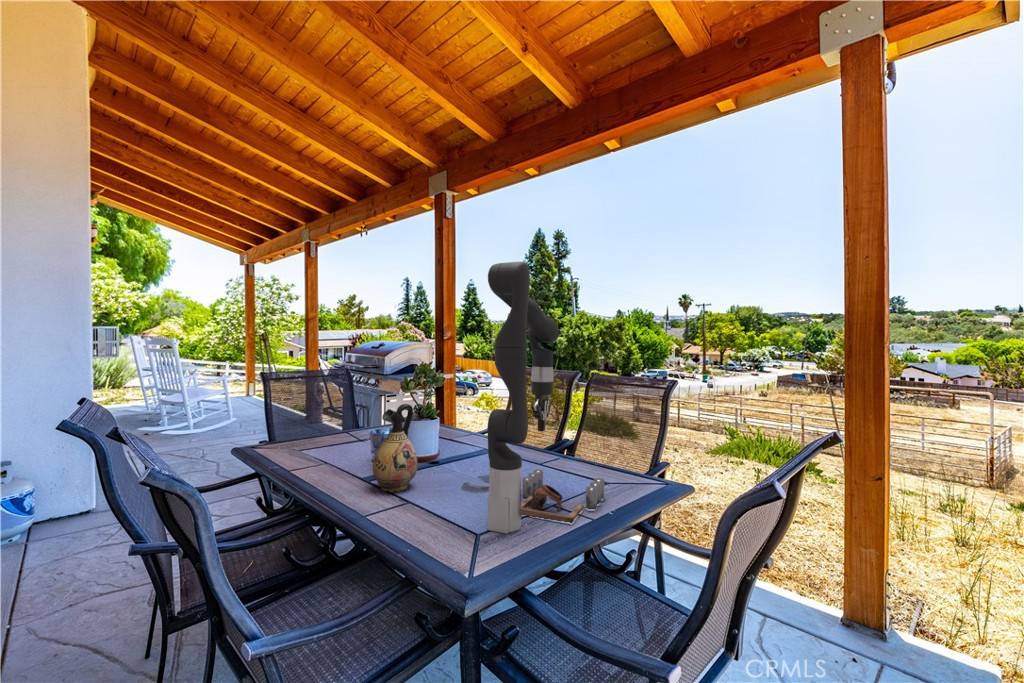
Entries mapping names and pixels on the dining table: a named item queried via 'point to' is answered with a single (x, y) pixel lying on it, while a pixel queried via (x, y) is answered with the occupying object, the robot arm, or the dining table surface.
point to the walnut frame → (549, 515)
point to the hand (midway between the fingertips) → (541, 430)
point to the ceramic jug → (396, 453)
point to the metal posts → (536, 481)
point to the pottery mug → (545, 497)
